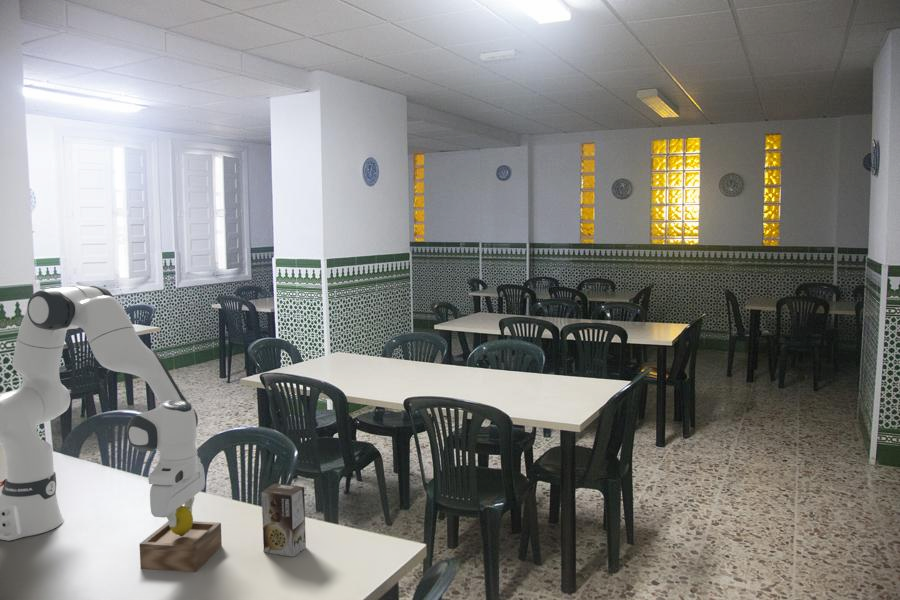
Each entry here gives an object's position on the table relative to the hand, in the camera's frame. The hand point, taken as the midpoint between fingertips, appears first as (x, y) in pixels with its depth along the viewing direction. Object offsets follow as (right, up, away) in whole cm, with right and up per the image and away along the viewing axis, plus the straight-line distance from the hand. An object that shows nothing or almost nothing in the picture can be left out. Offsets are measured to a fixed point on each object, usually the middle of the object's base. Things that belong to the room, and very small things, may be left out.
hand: (180, 520), depth 173 cm
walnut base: (0, -9, +1) cm, 10 cm away
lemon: (0, -4, +1) cm, 4 cm away
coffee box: (+25, -9, +5) cm, 27 cm away
